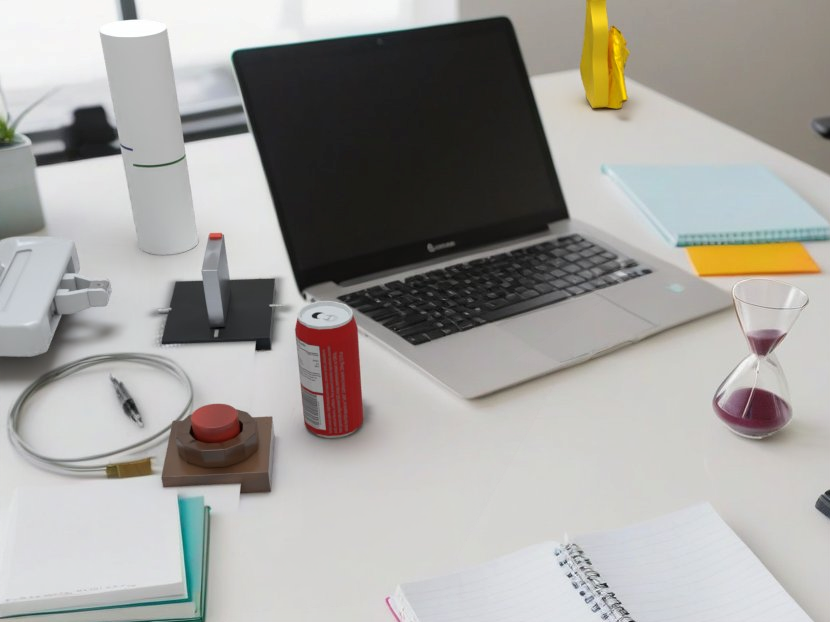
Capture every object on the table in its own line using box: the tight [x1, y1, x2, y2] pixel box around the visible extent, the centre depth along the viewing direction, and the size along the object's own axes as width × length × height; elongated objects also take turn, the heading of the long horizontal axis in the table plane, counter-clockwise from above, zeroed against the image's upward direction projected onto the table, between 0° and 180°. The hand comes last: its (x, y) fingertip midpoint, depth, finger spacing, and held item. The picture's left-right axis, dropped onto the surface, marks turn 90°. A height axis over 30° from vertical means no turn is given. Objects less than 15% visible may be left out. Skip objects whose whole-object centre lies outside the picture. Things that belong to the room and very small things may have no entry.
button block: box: [160, 408, 276, 495], centre depth 103 cm, size 9×9×4 cm
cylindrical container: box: [98, 19, 199, 256], centre depth 134 cm, size 7×7×25 cm
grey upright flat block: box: [201, 232, 231, 327], centre depth 123 cm, size 9×2×7 cm, turn 7°
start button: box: [191, 403, 240, 443], centre depth 101 cm, size 4×4×2 cm
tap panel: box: [157, 278, 284, 352], centre depth 125 cm, size 14×13×2 cm
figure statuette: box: [579, 0, 631, 110], centre depth 182 cm, size 18×8×22 cm, turn 8°
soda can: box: [294, 300, 364, 439], centre depth 106 cm, size 6×6×12 cm
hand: (109, 292), depth 118 cm, fingers closed
